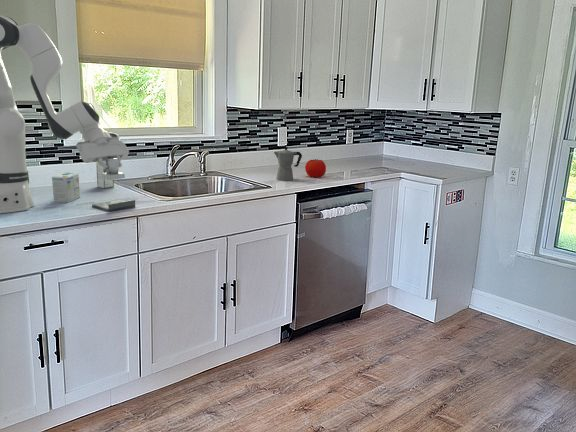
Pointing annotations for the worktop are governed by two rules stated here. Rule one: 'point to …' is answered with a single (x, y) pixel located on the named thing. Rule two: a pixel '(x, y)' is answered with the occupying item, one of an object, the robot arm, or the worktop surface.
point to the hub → (112, 169)
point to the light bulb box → (66, 187)
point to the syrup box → (101, 181)
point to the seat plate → (115, 205)
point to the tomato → (315, 168)
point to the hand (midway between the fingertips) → (113, 167)
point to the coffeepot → (286, 164)
